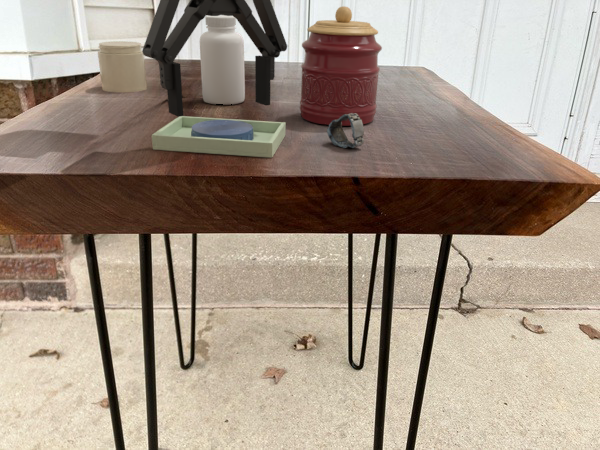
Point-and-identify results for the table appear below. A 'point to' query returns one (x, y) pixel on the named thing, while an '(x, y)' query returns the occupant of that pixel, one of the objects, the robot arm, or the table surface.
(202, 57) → the pill bottle
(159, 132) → the tray
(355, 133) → the wristwatch
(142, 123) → the table surface
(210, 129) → the jar lid
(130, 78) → the jar
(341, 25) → the kitchen canister
